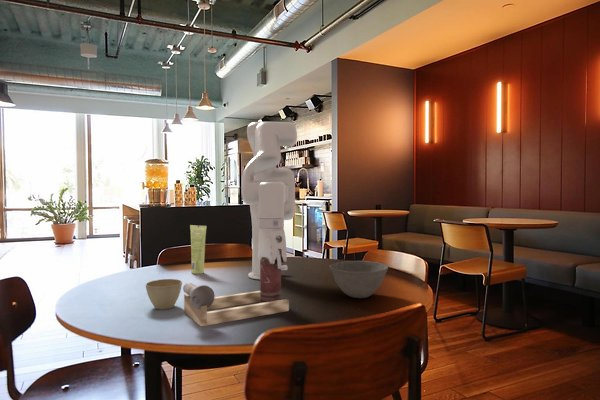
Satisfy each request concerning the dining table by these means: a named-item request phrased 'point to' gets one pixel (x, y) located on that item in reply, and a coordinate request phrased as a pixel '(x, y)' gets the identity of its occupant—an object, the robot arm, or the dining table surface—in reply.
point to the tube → (197, 248)
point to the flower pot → (163, 292)
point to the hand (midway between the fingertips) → (270, 285)
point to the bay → (226, 305)
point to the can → (269, 282)
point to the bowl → (358, 277)
